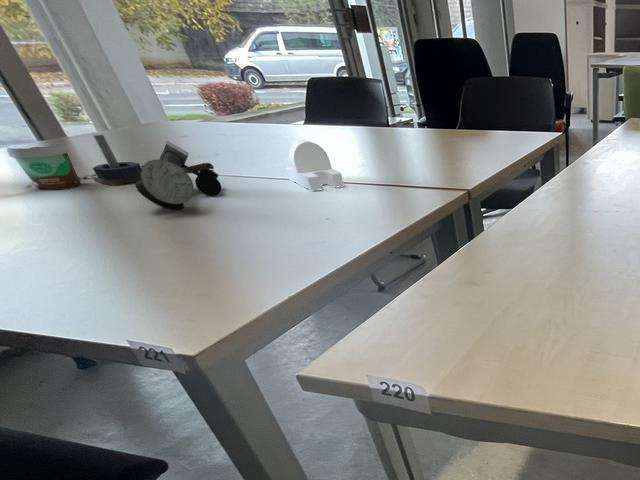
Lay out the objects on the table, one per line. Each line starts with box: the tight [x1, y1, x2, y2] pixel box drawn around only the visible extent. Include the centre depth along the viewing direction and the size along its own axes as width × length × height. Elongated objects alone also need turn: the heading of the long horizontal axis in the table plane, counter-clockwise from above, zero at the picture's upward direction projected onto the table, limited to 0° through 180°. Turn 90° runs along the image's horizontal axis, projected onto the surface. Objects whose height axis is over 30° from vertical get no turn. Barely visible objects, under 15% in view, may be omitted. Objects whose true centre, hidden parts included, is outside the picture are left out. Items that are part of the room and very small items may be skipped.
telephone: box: [134, 140, 222, 212], centre depth 130 cm, size 15×13×30 cm
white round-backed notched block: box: [285, 139, 345, 191], centre depth 146 cm, size 10×18×11 cm, turn 44°
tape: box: [92, 161, 142, 180], centre depth 145 cm, size 10×10×2 cm
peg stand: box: [92, 133, 141, 186], centre depth 143 cm, size 9×9×12 cm
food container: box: [6, 142, 82, 191], centre depth 136 cm, size 12×6×10 cm, turn 129°
